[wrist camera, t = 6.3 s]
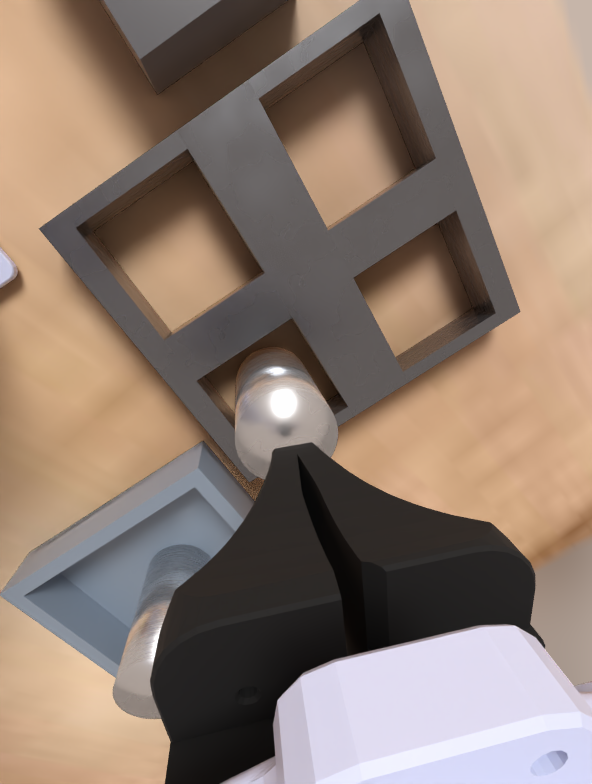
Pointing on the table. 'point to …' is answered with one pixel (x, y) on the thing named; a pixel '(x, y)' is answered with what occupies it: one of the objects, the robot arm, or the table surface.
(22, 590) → the tote
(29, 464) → the table surface
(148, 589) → the billet
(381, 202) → the frame
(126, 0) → the button housing
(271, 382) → the cylinder
